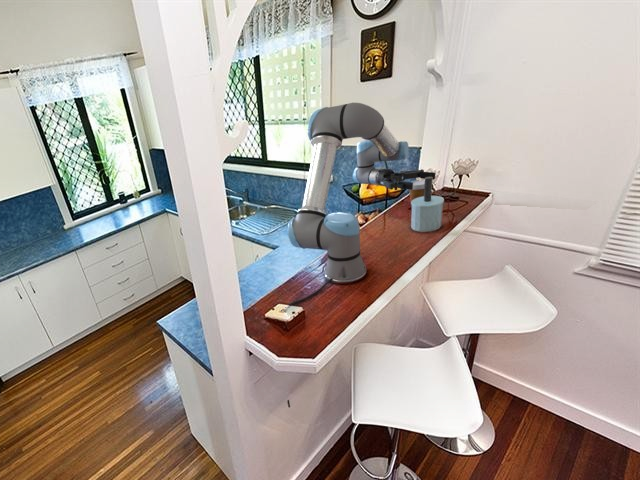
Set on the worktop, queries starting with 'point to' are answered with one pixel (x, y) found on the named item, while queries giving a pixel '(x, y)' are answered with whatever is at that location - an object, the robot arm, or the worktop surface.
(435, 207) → the light blue pot
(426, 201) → the lid
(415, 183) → the disposable coffee cup
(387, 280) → the worktop surface
